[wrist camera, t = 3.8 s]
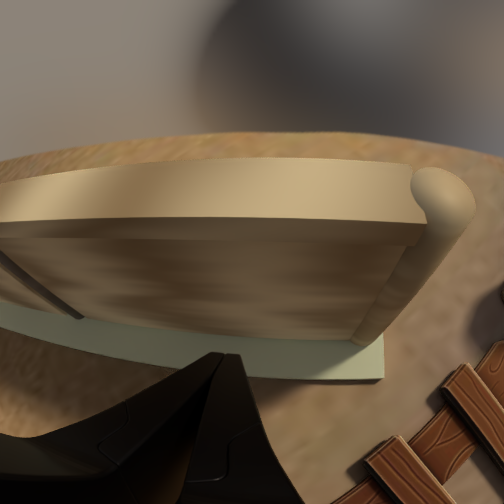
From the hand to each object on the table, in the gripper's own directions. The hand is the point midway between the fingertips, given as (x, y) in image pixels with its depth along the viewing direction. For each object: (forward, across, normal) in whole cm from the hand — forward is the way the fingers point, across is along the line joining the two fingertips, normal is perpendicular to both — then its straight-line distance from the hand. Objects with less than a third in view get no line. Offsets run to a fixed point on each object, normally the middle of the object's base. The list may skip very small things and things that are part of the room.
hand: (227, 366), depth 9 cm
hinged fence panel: (+7, +2, +2) cm, 8 cm away
